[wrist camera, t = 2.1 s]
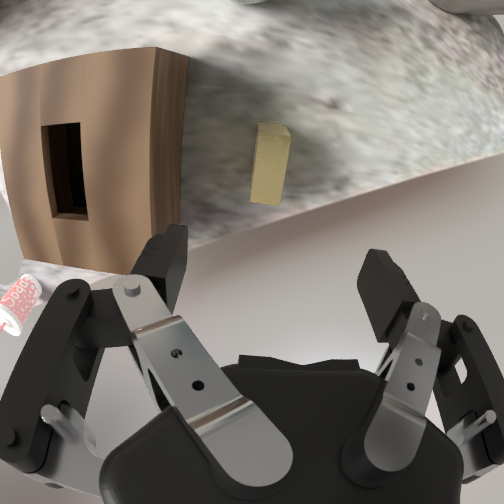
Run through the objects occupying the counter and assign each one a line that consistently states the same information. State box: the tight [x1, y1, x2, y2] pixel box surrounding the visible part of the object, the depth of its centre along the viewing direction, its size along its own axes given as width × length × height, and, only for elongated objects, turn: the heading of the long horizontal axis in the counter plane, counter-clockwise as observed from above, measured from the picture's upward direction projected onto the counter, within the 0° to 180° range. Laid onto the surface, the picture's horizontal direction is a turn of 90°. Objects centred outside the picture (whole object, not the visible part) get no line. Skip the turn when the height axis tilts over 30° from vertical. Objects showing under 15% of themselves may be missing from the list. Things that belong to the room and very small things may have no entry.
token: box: [250, 122, 292, 206], centre depth 25 cm, size 2×6×6 cm, turn 173°
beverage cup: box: [0, 274, 42, 336], centre depth 32 cm, size 6×6×14 cm
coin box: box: [0, 47, 189, 275], centre depth 23 cm, size 15×18×10 cm
